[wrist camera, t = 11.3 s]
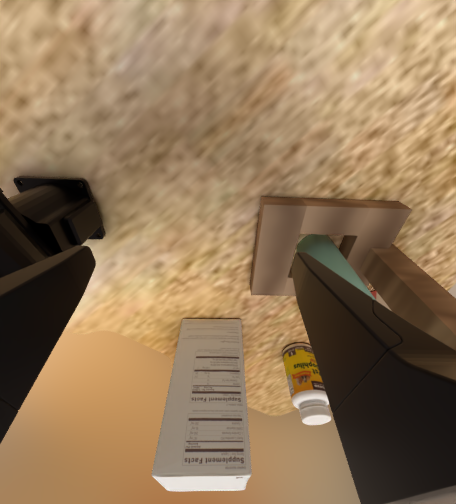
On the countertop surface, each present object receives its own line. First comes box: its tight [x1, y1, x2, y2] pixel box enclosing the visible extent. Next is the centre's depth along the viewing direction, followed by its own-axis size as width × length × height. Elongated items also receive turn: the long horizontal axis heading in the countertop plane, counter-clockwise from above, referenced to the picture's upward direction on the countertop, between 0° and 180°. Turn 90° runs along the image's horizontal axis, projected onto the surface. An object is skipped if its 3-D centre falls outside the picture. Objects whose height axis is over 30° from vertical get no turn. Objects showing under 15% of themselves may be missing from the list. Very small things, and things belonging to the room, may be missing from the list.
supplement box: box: [152, 319, 251, 491], centre depth 28 cm, size 10×9×17 cm
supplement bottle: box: [282, 343, 331, 425], centre depth 34 cm, size 6×6×10 cm
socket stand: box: [250, 197, 456, 350], centre depth 15 cm, size 15×12×23 cm
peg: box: [297, 234, 377, 301], centre depth 19 cm, size 4×4×15 cm
